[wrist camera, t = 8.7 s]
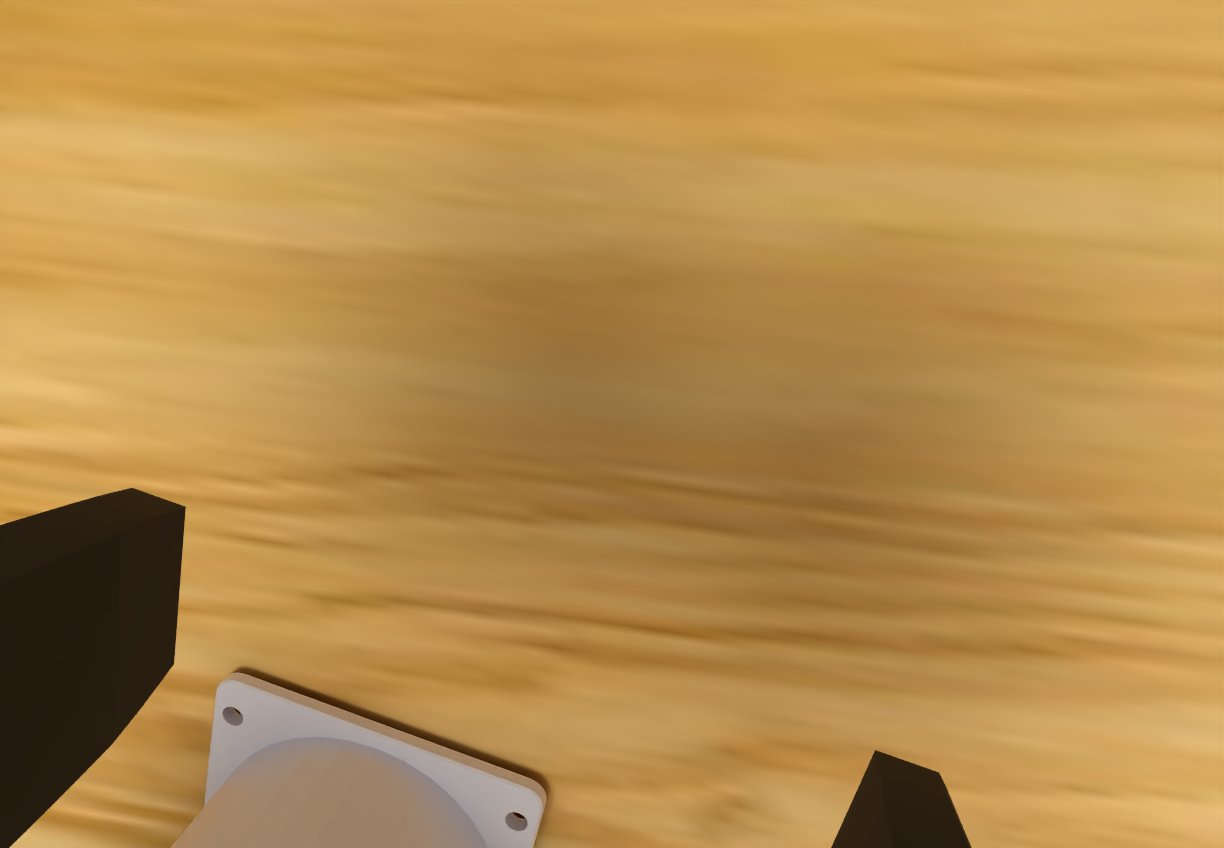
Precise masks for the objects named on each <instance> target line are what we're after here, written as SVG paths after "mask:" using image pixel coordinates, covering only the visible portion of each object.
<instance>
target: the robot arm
mask: <svg viewBox="0 0 1224 848" xmlns="http://www.w3.org/2000/svg"><path fill="white" fill-rule="evenodd" d="M185 508H186V507H185V506H182V505H179V504H176V503H173V502H171V501H168V500H165V499H162V498H159V497H156V496H154V495H151V494H148V493H145V492H142V491H139V490H137V489H134V488H130V489H126V490H121V491H117V492H113V493H109V494H105V495H101V496H97V497H94V498H90V499H87V500H83V501H80V502H76V503H73V504H69V505H66V506H62V507H59V508H56V509H52V510H49V511H46V512H42V513H39V514H36V515H32V516H29V517H26V518H23V519H19V520H16V521H13V522H9V523H6V524H3V525H0V848H9V847H10V846H11V845H12V844H13V843H14V842H15V841H16V840H17V839H18V838H19V837H20V836H22V835H23V834H24V833H25V832H26V831H27V830H28V829H29V828H30V827H31V826H32V825H33V824H34V823H35V822H36V821H37V820H38V819H39V818H40V817H41V816H42V815H43V814H44V813H45V812H46V811H47V810H48V809H49V808H50V807H51V806H52V805H53V804H54V803H55V802H56V801H57V800H58V799H59V798H60V797H61V796H62V795H63V794H64V793H65V792H66V791H67V790H68V789H69V788H70V787H71V786H72V785H73V784H74V783H75V782H76V781H77V780H78V779H79V778H80V777H81V776H82V774H83V773H84V772H85V771H86V770H87V769H88V768H89V767H90V766H91V765H92V764H93V763H94V762H95V761H96V760H97V759H98V758H99V757H100V756H101V755H102V754H103V753H104V752H105V751H106V750H107V749H108V748H109V747H110V746H111V745H112V744H113V743H114V741H115V740H116V739H117V738H118V736H119V735H120V734H121V733H122V731H123V730H124V729H125V727H126V726H127V725H128V724H129V722H130V721H131V720H132V719H133V717H134V716H135V715H136V714H137V712H138V711H139V710H140V709H141V707H142V706H143V705H144V703H145V702H146V701H147V699H148V698H149V697H150V695H151V694H152V693H153V691H154V690H155V689H156V687H157V686H158V685H159V683H160V682H161V681H162V679H163V678H164V677H165V675H166V674H167V673H168V671H169V670H170V669H171V667H172V666H173V665H174V656H175V643H176V629H177V616H178V602H179V589H180V575H181V562H182V548H183V535H184V521H185ZM233 707H234V708H236V709H237V710H239V711H240V713H241V714H242V715H241V714H239V713H237V712H236V711H235V710H234V708H233ZM546 800H547V795H546V793H545V791H544V788H543V787H542V786H541V785H540V784H539V783H538V782H536V781H534V780H532V779H531V778H528V777H525V776H523V775H520V774H517V773H514V772H512V771H509V770H506V769H503V768H501V767H498V766H495V765H493V764H490V763H487V762H484V761H482V760H479V759H476V758H473V757H471V756H468V755H465V754H463V753H460V752H457V751H454V750H452V749H449V748H446V747H443V746H441V745H438V744H435V743H432V742H430V741H427V740H424V739H422V738H419V737H416V736H413V735H411V734H408V733H405V732H402V731H400V730H397V729H394V728H392V727H389V726H386V725H383V724H381V723H378V722H375V721H372V720H370V719H367V718H364V717H361V716H359V715H356V714H353V713H351V712H348V711H345V710H342V709H340V708H337V707H334V706H331V705H329V704H326V703H323V702H321V701H318V700H315V699H312V698H310V697H307V696H304V695H301V694H299V693H296V692H293V691H291V690H288V689H285V688H282V687H280V686H277V685H274V684H271V683H269V682H266V681H263V680H260V679H258V678H255V677H252V676H250V675H247V674H243V673H238V672H236V673H231V674H229V675H228V676H227V677H226V678H225V679H224V680H223V681H222V682H221V683H220V684H219V685H218V687H217V690H216V697H215V707H214V716H213V725H212V735H211V744H210V753H209V763H208V772H207V781H206V791H205V800H204V807H203V809H202V810H201V811H200V812H199V814H198V815H197V816H196V817H195V818H194V820H193V821H192V822H191V823H190V824H189V826H188V827H187V828H186V829H185V831H184V832H183V833H182V834H181V835H180V837H179V838H178V839H177V840H176V842H175V843H174V844H173V845H172V846H171V848H534V844H535V841H536V837H537V834H538V830H539V827H540V823H541V820H542V816H543V813H544V809H545V806H546ZM513 812H516V813H520V814H521V815H523V816H524V817H525V818H526V819H522V818H518V817H517V816H515V815H514V814H513ZM831 848H971V845H970V843H969V841H968V838H967V836H966V833H965V831H964V829H963V826H962V824H961V821H960V819H959V817H958V814H957V812H956V809H955V807H954V805H953V802H952V800H951V797H950V795H949V793H948V790H947V788H946V786H945V784H944V782H943V780H942V778H941V776H940V774H939V773H938V772H936V771H933V770H930V769H927V768H924V767H921V766H919V765H916V764H913V763H910V762H907V761H904V760H902V759H899V758H896V757H893V756H890V755H887V754H885V753H882V752H879V751H876V750H875V752H874V754H873V756H872V759H871V761H870V763H869V765H868V768H867V770H866V772H865V774H864V776H863V779H862V781H861V783H860V785H859V787H858V790H857V792H856V794H855V796H854V799H853V801H852V803H851V805H850V807H849V810H848V812H847V814H846V816H845V818H844V821H843V823H842V825H841V827H840V830H839V832H838V834H837V836H836V838H835V841H834V843H833V845H832V847H831Z"/></svg>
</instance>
